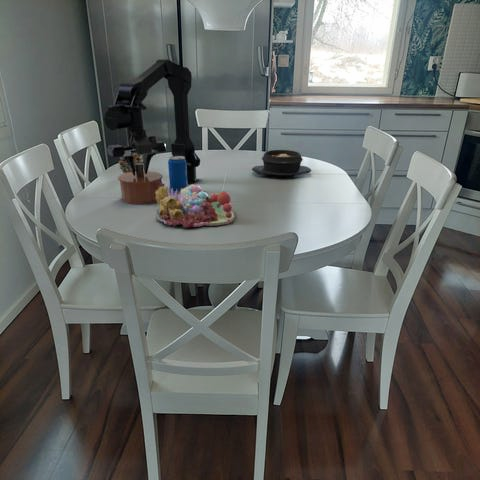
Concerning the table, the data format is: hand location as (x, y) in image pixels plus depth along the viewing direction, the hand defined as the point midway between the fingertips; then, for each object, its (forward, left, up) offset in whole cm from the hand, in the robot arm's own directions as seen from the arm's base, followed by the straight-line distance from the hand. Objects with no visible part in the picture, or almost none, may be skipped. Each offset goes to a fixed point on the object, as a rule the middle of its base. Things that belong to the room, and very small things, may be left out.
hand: (140, 174), depth 156 cm
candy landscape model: (+5, +27, -8) cm, 29 cm away
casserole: (-58, +24, -8) cm, 63 cm away
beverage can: (-14, +5, -8) cm, 17 cm away
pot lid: (0, 0, -1) cm, 1 cm away
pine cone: (-23, -26, -8) cm, 36 cm away
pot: (0, 0, -8) cm, 8 cm away
